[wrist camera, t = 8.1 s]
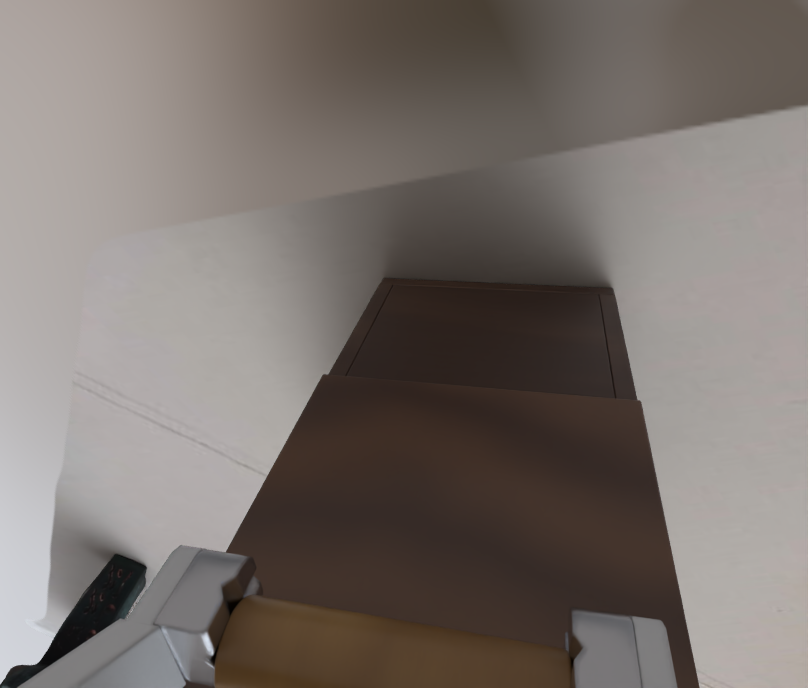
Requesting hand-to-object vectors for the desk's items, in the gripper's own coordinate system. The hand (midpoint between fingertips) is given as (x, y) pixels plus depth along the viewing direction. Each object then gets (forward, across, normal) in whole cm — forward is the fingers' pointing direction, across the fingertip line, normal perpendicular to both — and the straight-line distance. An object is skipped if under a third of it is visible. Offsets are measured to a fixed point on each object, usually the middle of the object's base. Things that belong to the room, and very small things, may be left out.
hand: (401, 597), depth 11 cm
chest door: (+4, 0, +5) cm, 6 cm away
